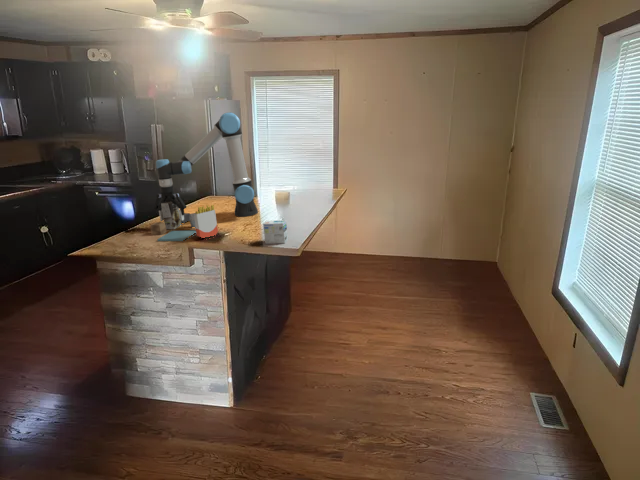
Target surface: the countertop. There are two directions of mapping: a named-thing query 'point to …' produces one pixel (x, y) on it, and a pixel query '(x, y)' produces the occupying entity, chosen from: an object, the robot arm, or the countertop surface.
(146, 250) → the countertop surface
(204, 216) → the french fries container
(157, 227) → the walnut block
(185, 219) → the charcoal box
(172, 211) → the coffee box
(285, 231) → the light bulb box
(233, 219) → the countertop surface
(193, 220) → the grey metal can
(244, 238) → the countertop surface
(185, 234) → the pad
